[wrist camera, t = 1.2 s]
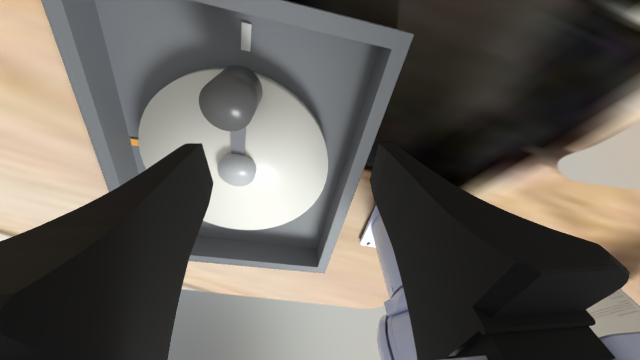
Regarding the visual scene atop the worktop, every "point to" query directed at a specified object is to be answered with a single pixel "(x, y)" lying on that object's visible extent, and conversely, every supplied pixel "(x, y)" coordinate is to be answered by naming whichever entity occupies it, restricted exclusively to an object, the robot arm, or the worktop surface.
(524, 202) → the worktop surface
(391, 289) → the robot arm
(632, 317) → the supplement box
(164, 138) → the dial
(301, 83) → the bezel plate
